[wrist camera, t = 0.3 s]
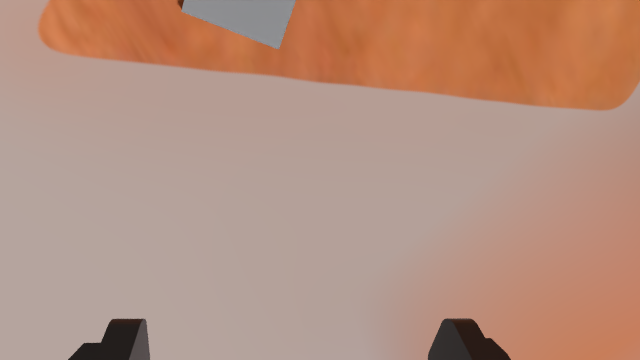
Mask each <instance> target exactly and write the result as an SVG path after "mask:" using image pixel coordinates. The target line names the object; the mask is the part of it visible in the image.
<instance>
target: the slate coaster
mask: <svg viewBox="0 0 640 360" xmlns="http://www.w3.org/2000/svg"><path fill="white" fill-rule="evenodd" d="M295 1H296V0H184V3H183V7H182V11H181V12H184V13H187V14H189V15H192V16H194V17H197V18H199V19H202V20H204V21H207V22H210V23H212V24H215V25H217V26H220V27H222V28H225V29H228V30H230V31H233V32H235V33H238V34H240V35H243V36H246V37H248V38H251V39H253V40H256V41H258V42H261V43H263V44H266V45H269V46H271V47H274V48H276V49H279V47H280V45H281V42H282V39H283V36H284V33H285V30H286V27H287V24H288V21H289V19H290V16H291V13H292V10H293V7H294V4H295Z"/></svg>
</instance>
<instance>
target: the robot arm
mask: <svg viewBox="0 0 640 360" xmlns="http://www.w3.org/2000/svg"><path fill="white" fill-rule="evenodd" d="M68 360H150V353H149V344H148V334H147V325H146V320H145V319H112V320H111V321H110V323H109V325H108V327H107V329H106V332H105V334H104V337H103V339H102V342H101V343H84V344H83V345H82V346H81V347H80V348H79V349H78V350H77V351H76V352H75V353H74V354H73V355H72V356H71V357H70V358H69V359H68ZM428 360H511V359H510V358H509V356H508V354H507V353H506V352H505V351H504V350H503V349H501V347H500V346H498V345H497V344H496V343H495V342H494V341H493V340H492V339H491V338H485V337H484V335H483V333H482V332H481V330H480V328H479V327H478V325H477V323H476V322H475V321H474V320H472V319H444V320H443V321H442V323H441V326H440V328H439V330H438V333H437V335H436V337H435V340H434V342H433V344H432V346H431V349H430V351H429V354H428Z"/></svg>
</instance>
